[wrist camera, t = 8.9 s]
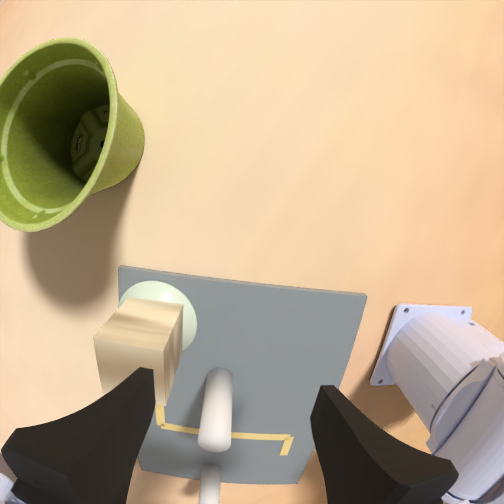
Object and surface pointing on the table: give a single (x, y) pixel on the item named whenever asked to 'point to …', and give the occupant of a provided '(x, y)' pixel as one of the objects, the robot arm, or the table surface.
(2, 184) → the plant pot
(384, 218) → the table surface
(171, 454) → the board
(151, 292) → the pad
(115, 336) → the block
